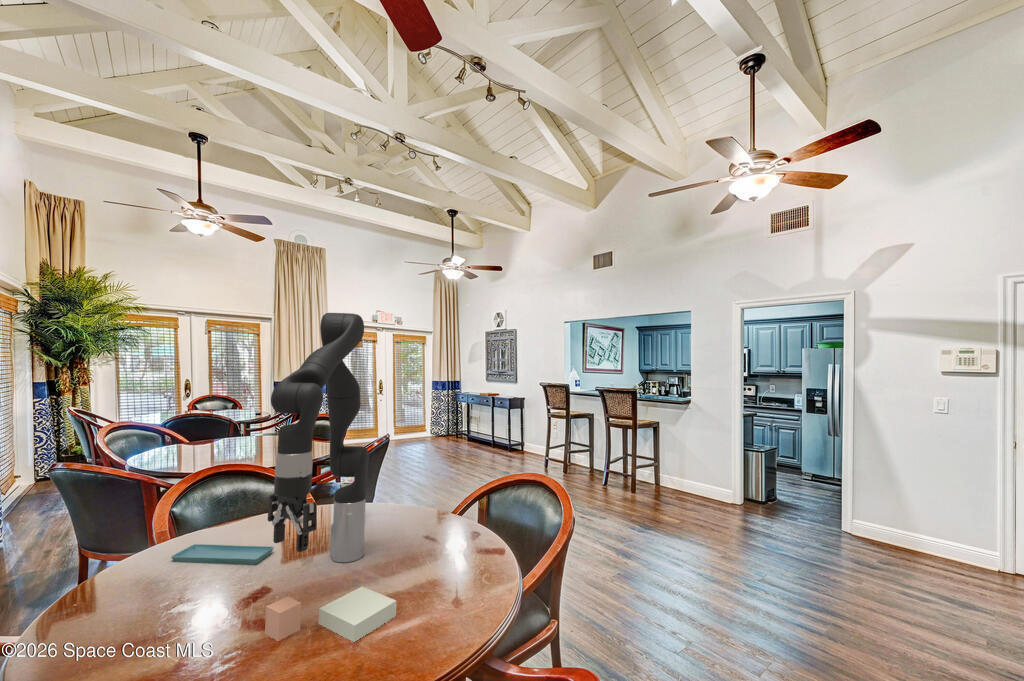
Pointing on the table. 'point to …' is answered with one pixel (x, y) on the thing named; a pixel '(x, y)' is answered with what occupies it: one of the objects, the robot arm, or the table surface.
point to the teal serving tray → (223, 554)
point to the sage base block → (357, 613)
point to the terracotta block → (283, 618)
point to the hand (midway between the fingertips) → (290, 546)
